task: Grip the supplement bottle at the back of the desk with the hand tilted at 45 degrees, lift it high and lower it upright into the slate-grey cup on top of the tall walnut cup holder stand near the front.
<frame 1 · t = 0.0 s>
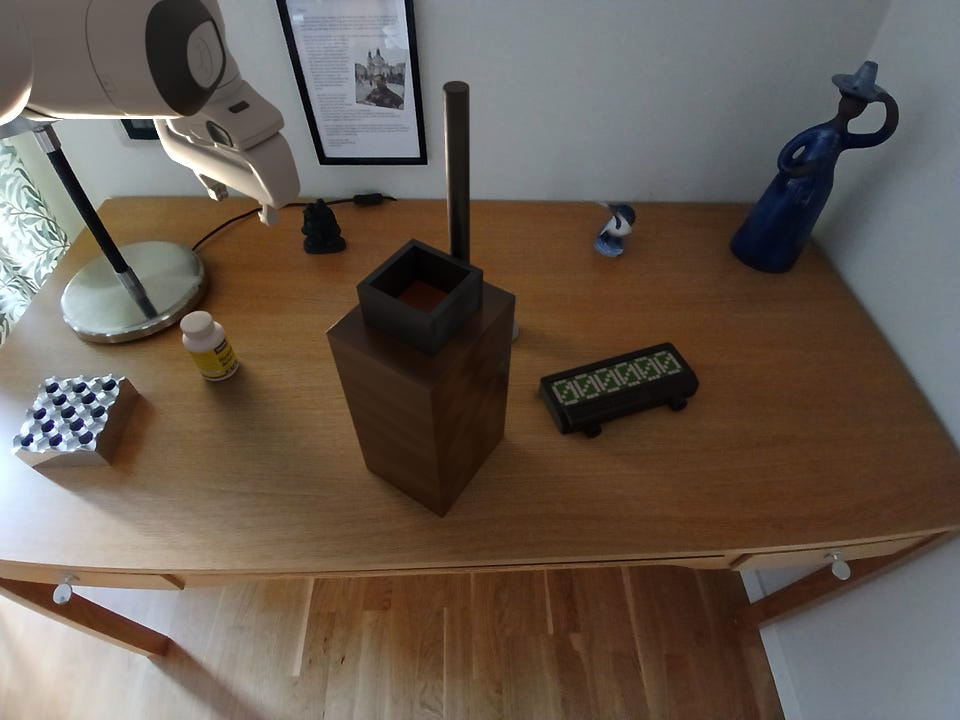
hand: (245, 209, 71), 21 cm above the table, tool pointing down, fingers open, 8 cm apart
supplement bottle: (221, 368, 81), on the table
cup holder: (423, 313, 53), on the table
rook chess piece: (503, 334, 86), on the table
digital display: (619, 397, 79), on the table
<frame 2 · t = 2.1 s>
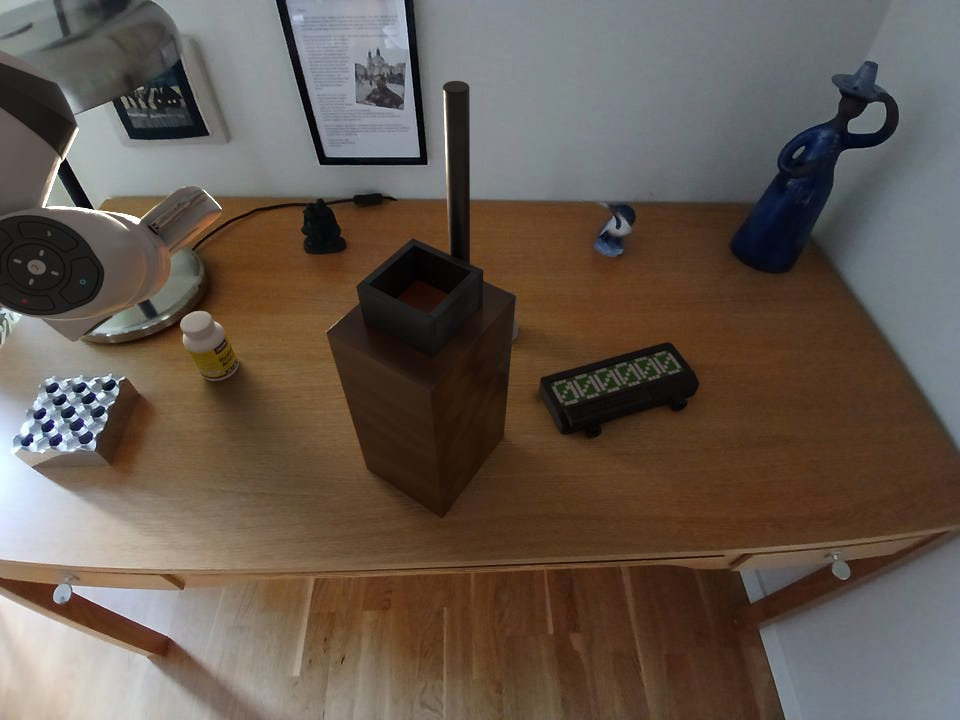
hand: (155, 256, 66), 20 cm above the table, tool tilted 55°, fingers open, 8 cm apart
nothing on the table moved.
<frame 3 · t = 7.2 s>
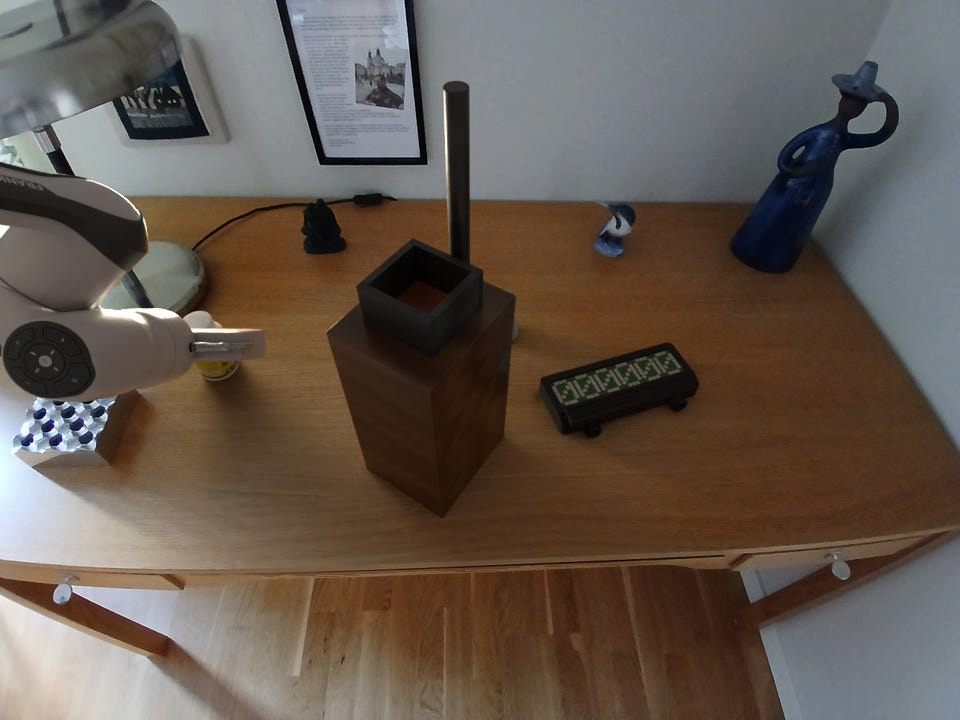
hand: (208, 339, 78), 5 cm above the table, tool tilted 45°, fingers closed on supplement bottle, 5 cm apart
supplement bottle: (221, 368, 81), on the table, touching gripper
everything else where it was.
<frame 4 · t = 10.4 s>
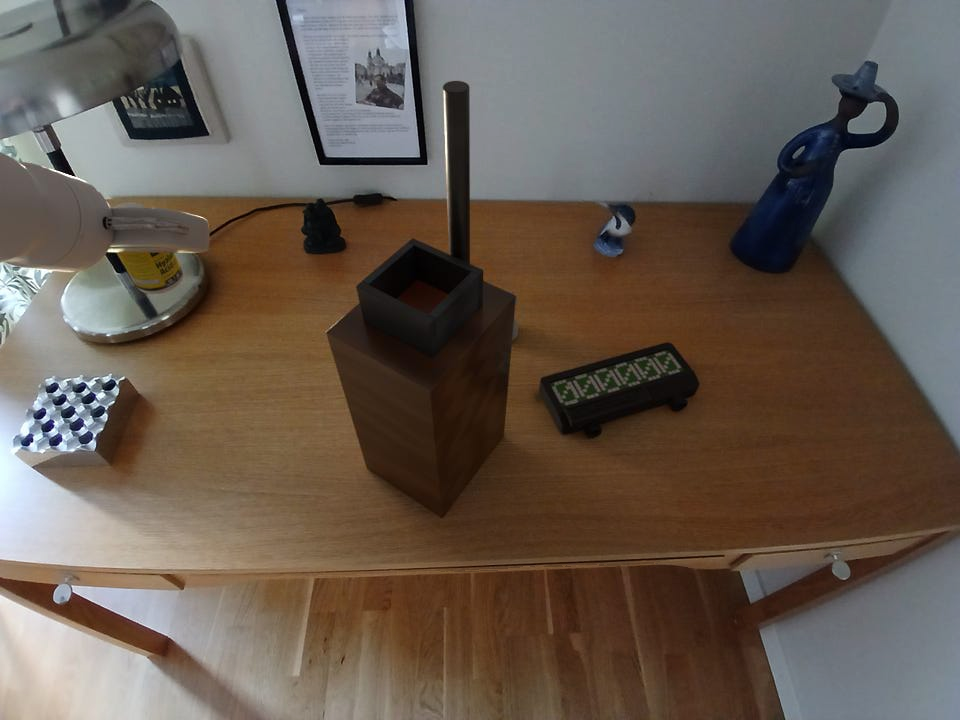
hand: (143, 241, 64), 23 cm above the table, tool tilted 45°, fingers closed on supplement bottle, 5 cm apart
supplement bottle: (162, 281, 68), point 17 cm above the table, touching gripper
everything else where it was.
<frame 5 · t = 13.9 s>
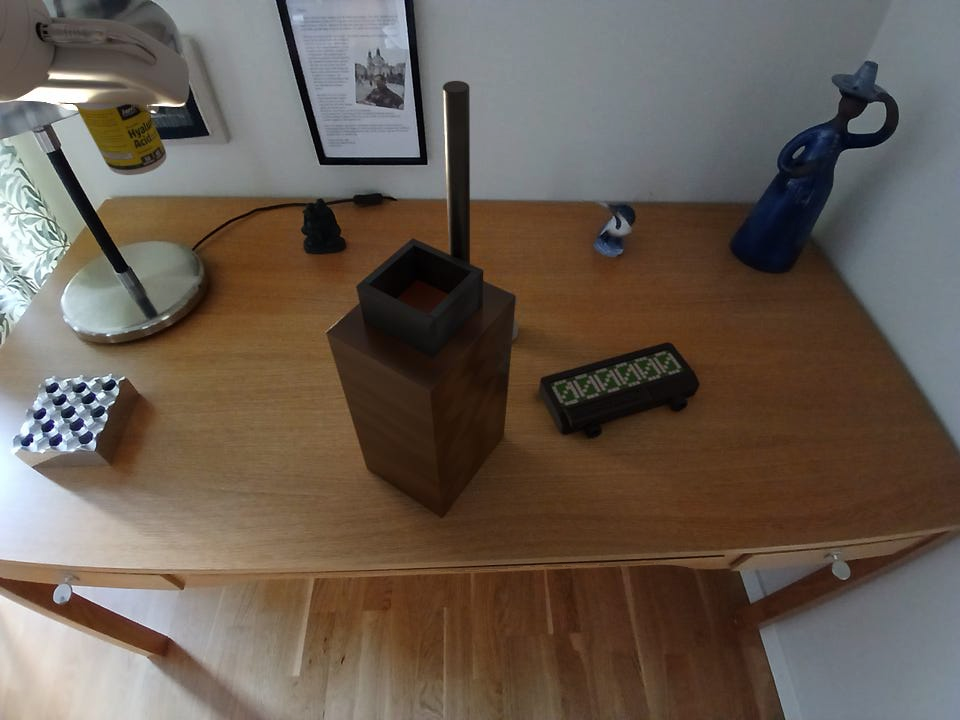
hand: (114, 102, 51), 39 cm above the table, tool tilted 45°, fingers closed on supplement bottle, 5 cm apart
supplement bottle: (140, 164, 55), point 33 cm above the table, touching gripper
everything else where it was.
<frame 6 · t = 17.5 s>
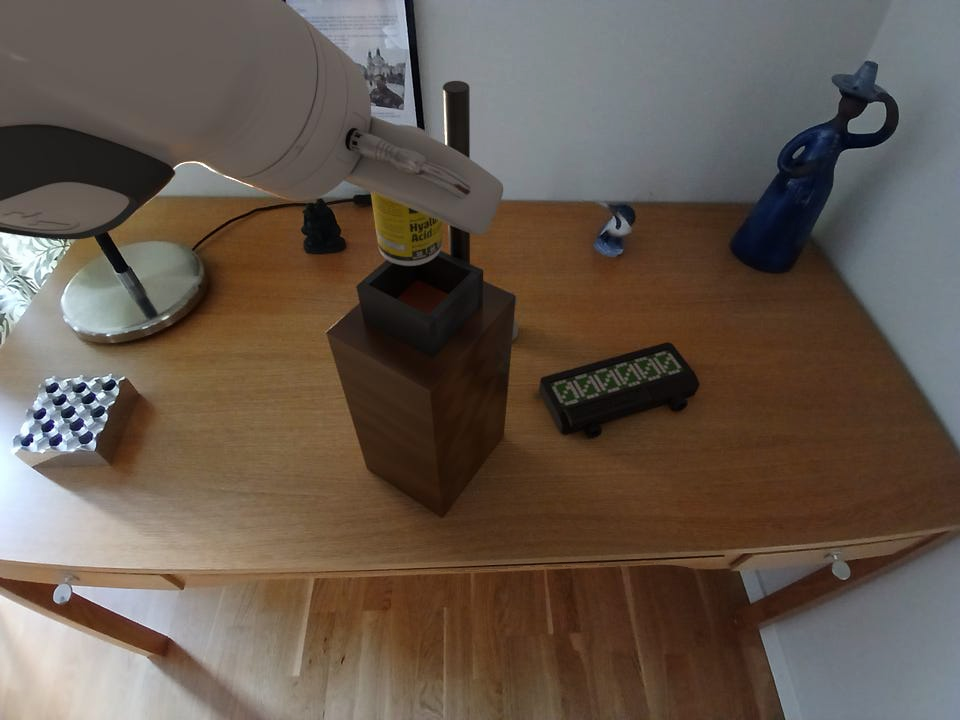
hand: (410, 185, 43), 39 cm above the table, tool tilted 45°, fingers closed on supplement bottle, 5 cm apart
supplement bottle: (411, 249, 47), point 33 cm above the table, touching gripper
everything else where it was.
when the fingers open (32 cm above the table, at t = 20.5 s): supplement bottle stays where it is, resting on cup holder.
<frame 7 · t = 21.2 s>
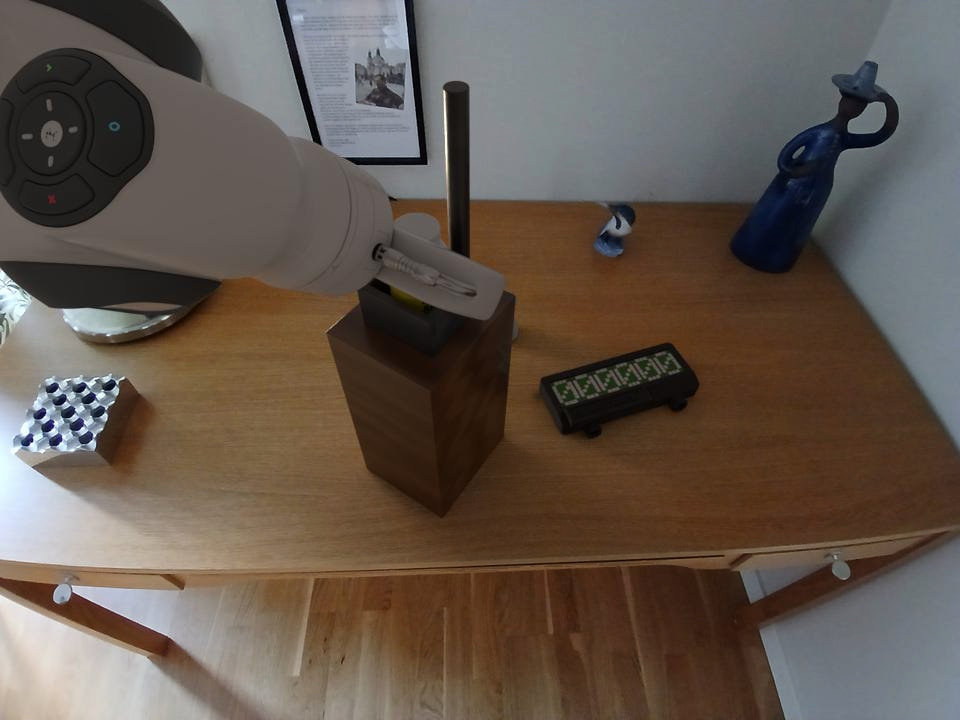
hand: (424, 260, 48), 32 cm above the table, tool tilted 45°, fingers open, 8 cm apart
supplement bottle: (422, 312, 53), point 26 cm above the table, touching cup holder
everything else where it was.
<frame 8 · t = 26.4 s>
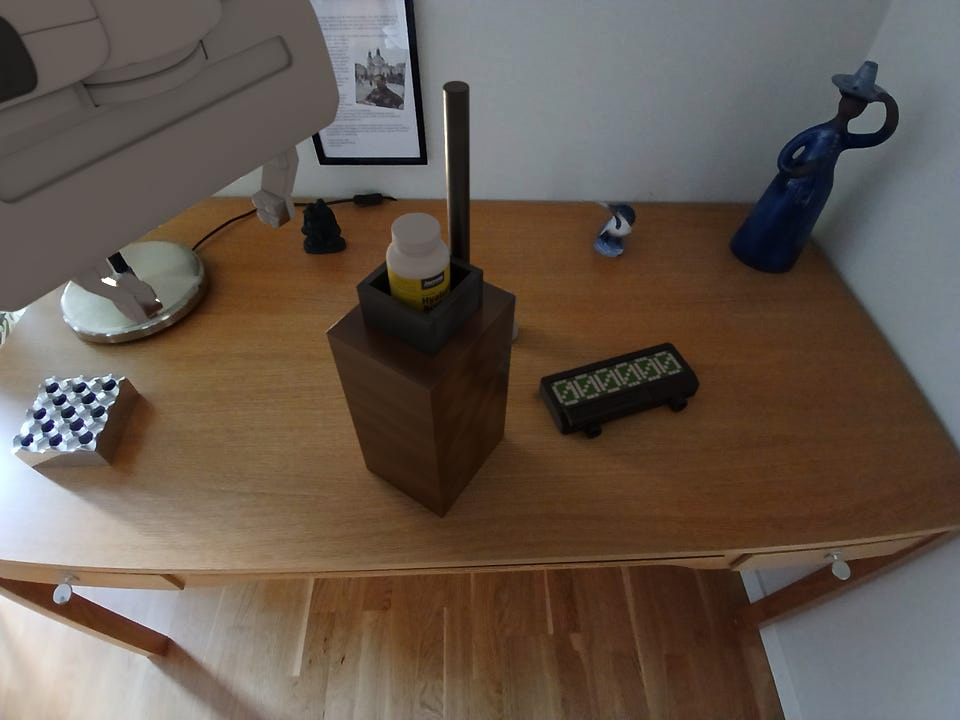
hand: (216, 262, 31), 43 cm above the table, tool pointing down, fingers open, 8 cm apart
nothing on the table moved.
at the end: supplement bottle 0.1 cm off-centre on the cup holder, point 0.0 cm above the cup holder's base; supplement bottle tilted 0°; the gripper is holding nothing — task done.
